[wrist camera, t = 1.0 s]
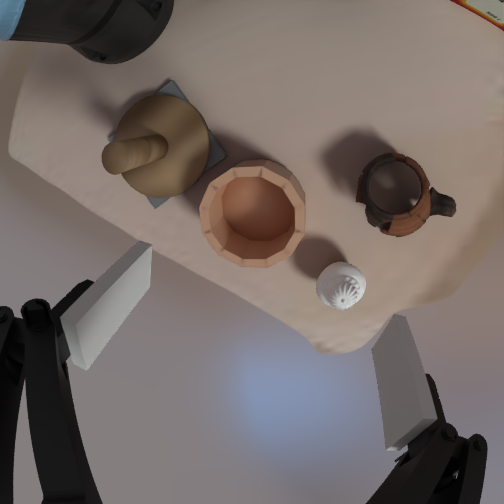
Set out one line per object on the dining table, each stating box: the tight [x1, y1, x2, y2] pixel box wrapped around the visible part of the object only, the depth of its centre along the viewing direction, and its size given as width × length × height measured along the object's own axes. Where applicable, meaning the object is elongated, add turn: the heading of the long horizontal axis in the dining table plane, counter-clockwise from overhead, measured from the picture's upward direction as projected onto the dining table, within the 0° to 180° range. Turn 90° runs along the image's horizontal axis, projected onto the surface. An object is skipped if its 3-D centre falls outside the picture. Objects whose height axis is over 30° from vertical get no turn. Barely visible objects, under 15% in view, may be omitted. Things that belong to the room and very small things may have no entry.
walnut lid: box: [102, 95, 210, 198], centre depth 29 cm, size 13×13×10 cm
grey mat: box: [108, 80, 227, 209], centre depth 34 cm, size 12×12×1 cm
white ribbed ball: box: [316, 262, 366, 310], centre depth 35 cm, size 6×6×7 cm
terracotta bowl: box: [199, 159, 305, 268], centre depth 33 cm, size 11×11×6 cm
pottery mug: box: [356, 153, 456, 237], centre depth 30 cm, size 12×9×8 cm
